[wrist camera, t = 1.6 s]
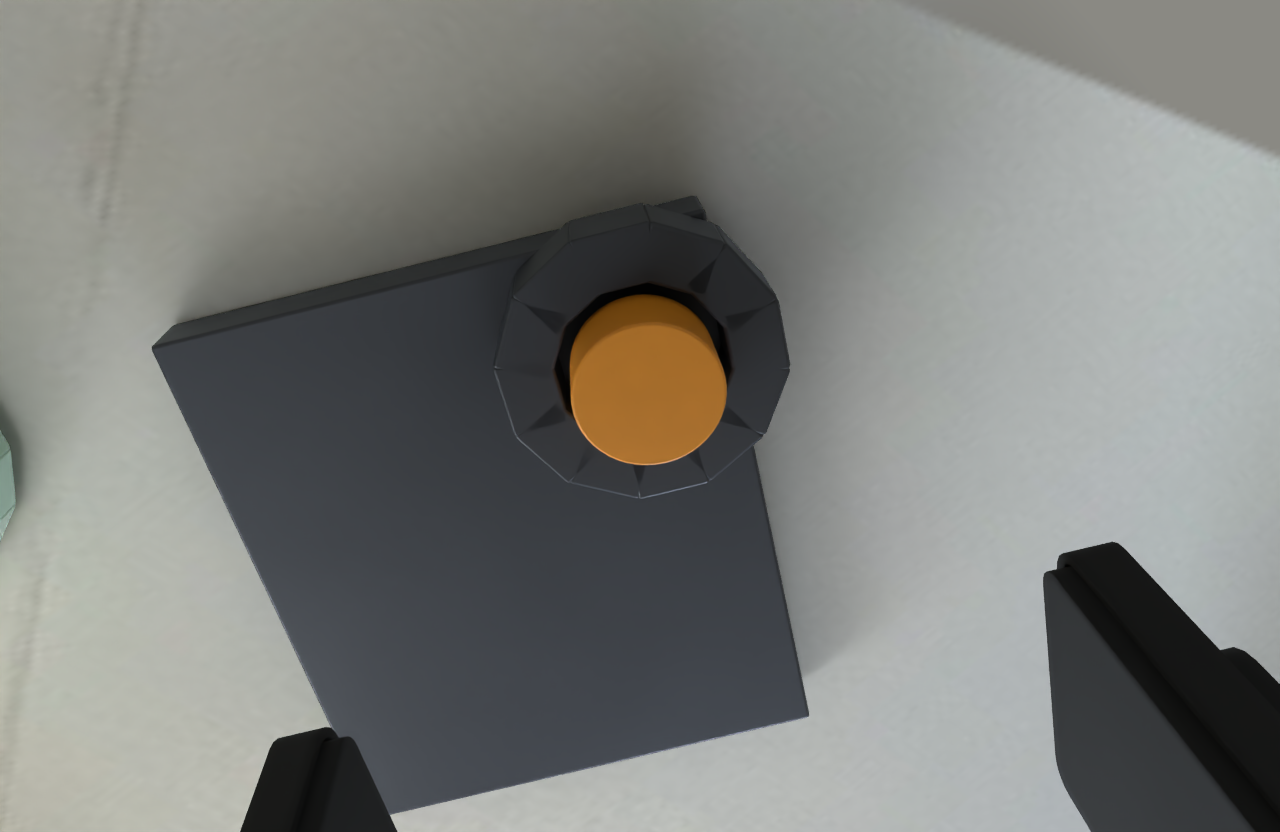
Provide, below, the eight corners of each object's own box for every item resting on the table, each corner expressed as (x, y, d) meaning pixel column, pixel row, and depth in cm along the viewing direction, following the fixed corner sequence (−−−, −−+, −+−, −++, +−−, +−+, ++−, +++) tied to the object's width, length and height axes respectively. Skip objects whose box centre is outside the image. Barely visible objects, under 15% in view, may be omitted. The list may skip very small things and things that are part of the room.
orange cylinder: (553, 313, 20) (553, 344, 19) (698, 277, 20) (710, 305, 19) (590, 442, 22) (592, 482, 20) (727, 409, 22) (740, 446, 20)
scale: (162, 306, 22) (108, 355, 20) (734, 163, 22) (759, 193, 19) (381, 781, 29) (363, 868, 26) (832, 675, 28) (861, 753, 25)
